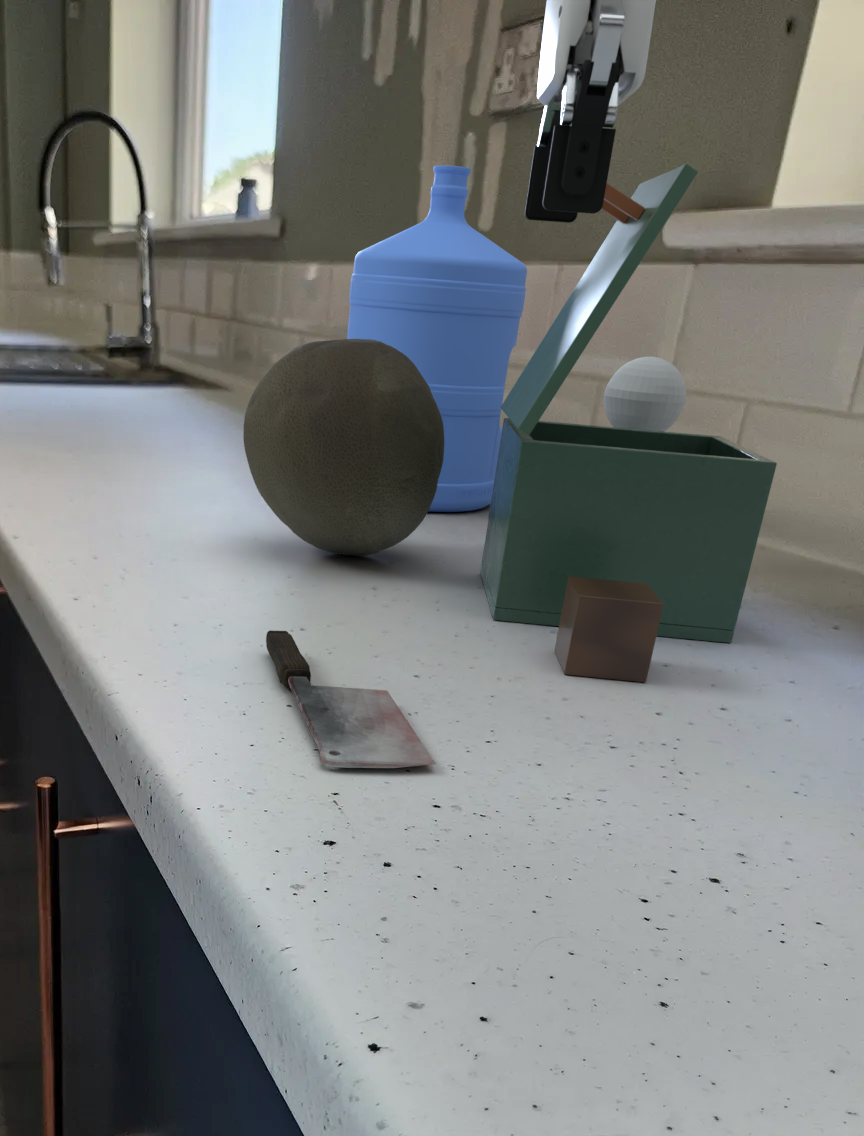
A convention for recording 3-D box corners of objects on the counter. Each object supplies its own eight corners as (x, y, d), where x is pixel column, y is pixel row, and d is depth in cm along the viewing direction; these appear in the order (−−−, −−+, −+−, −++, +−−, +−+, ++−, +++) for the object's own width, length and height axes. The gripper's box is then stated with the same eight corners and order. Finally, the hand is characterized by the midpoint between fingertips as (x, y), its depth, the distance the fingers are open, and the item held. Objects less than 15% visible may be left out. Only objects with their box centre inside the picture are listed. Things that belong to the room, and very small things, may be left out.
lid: (650, 190, 71) (578, 142, 70) (699, 171, 59) (613, 114, 58) (509, 414, 77) (442, 372, 76) (528, 436, 65) (450, 387, 65)
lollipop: (604, 545, 94) (642, 353, 88) (665, 560, 90) (710, 361, 84) (559, 551, 91) (595, 352, 84) (621, 567, 87) (664, 360, 80)
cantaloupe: (345, 528, 93) (365, 333, 86) (469, 568, 83) (501, 350, 76) (203, 541, 85) (213, 326, 79) (320, 586, 75) (342, 344, 69)
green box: (684, 592, 81) (721, 436, 76) (731, 643, 69) (777, 462, 65) (480, 573, 82) (503, 417, 77) (493, 620, 70) (521, 440, 66)
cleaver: (439, 754, 47) (322, 753, 46) (435, 777, 47) (319, 776, 47) (354, 629, 61) (263, 627, 60) (351, 648, 62) (261, 646, 61)
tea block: (631, 658, 65) (647, 583, 63) (646, 683, 61) (664, 603, 59) (554, 651, 65) (567, 575, 63) (563, 674, 61) (579, 595, 59)
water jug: (421, 520, 99) (468, 155, 87) (297, 488, 109) (324, 157, 97) (525, 506, 109) (580, 177, 97) (403, 479, 119) (439, 177, 107)
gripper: (735, -213, 51) (654, 212, 58) (656, -95, 67) (600, 228, 74) (568, -220, 51) (508, 202, 59) (529, -102, 67) (485, 220, 74)
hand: (559, 216), depth 66 cm, fingers open, 9 cm apart
